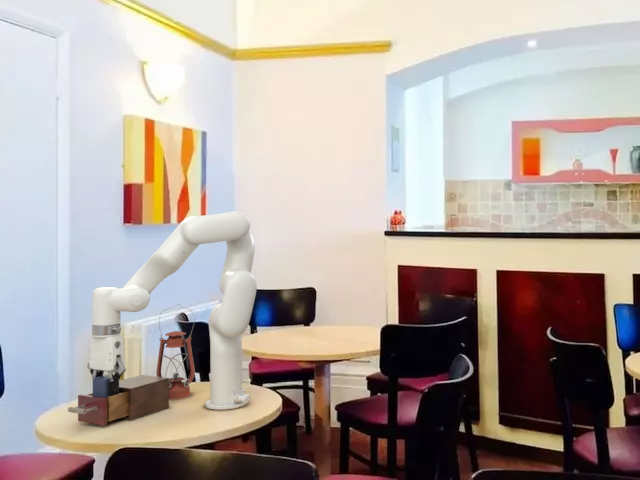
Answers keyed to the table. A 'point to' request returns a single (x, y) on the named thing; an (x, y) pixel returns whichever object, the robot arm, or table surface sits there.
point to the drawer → (101, 408)
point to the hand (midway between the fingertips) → (106, 393)
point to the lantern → (175, 384)
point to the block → (101, 386)
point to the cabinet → (145, 395)
